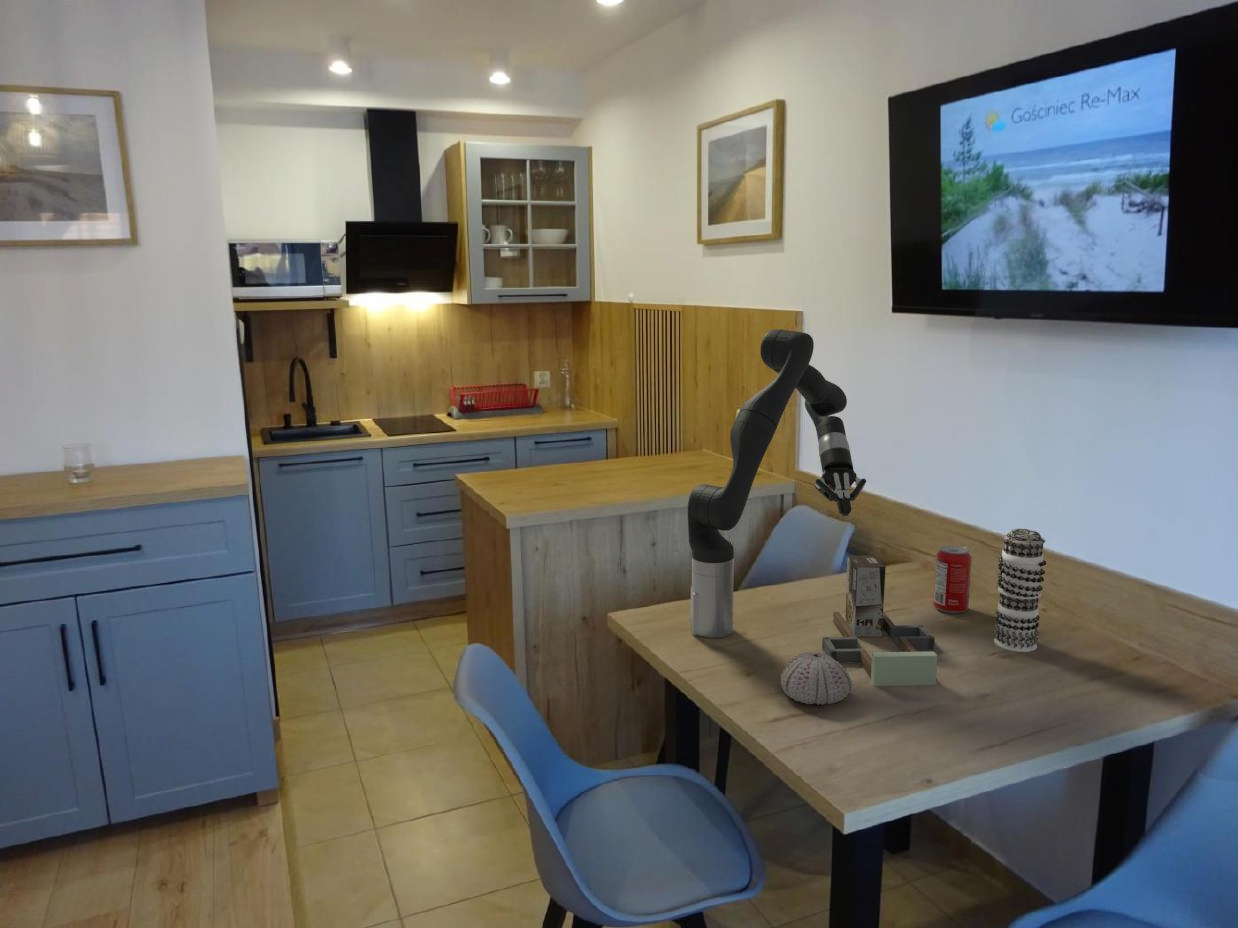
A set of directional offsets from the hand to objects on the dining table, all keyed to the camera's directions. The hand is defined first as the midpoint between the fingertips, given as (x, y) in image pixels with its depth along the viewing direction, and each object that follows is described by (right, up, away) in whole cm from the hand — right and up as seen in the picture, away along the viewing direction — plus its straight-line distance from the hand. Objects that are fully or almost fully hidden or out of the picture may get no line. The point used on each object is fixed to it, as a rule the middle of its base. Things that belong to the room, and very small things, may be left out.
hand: (845, 514), depth 212 cm
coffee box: (0, -25, -14) cm, 29 cm away
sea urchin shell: (-17, -32, -45) cm, 57 cm away
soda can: (+24, -23, -2) cm, 33 cm away
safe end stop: (+1, -30, -41) cm, 51 cm away
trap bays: (+1, -27, -25) cm, 37 cm away
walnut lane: (+1, -27, -25) cm, 37 cm away
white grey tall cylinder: (+31, -27, -23) cm, 47 cm away
